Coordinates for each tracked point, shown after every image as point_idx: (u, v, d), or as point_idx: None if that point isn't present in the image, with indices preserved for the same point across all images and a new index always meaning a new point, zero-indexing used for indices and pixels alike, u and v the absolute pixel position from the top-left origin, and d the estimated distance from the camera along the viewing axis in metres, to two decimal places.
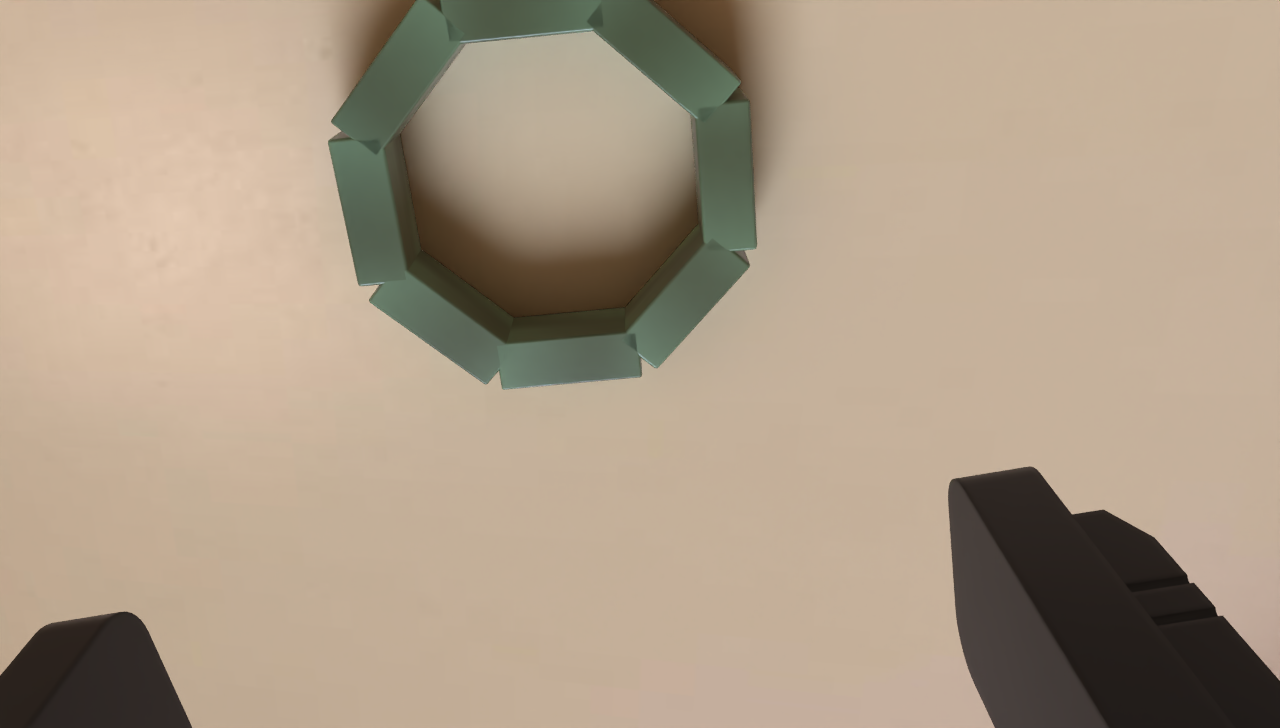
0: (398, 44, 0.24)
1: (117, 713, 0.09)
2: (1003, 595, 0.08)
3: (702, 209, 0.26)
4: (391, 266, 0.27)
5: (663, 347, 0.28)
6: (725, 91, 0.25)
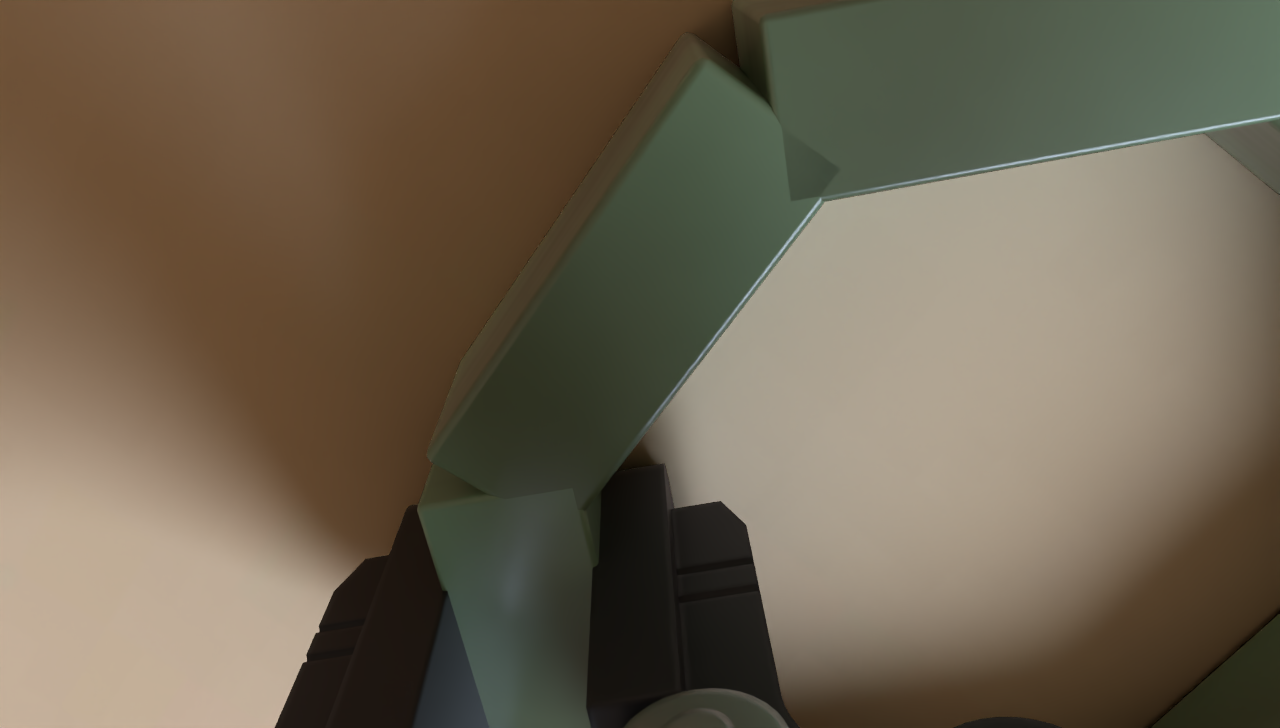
0: (480, 627, 0.09)
1: None
2: None
3: None
4: None
5: None
6: None
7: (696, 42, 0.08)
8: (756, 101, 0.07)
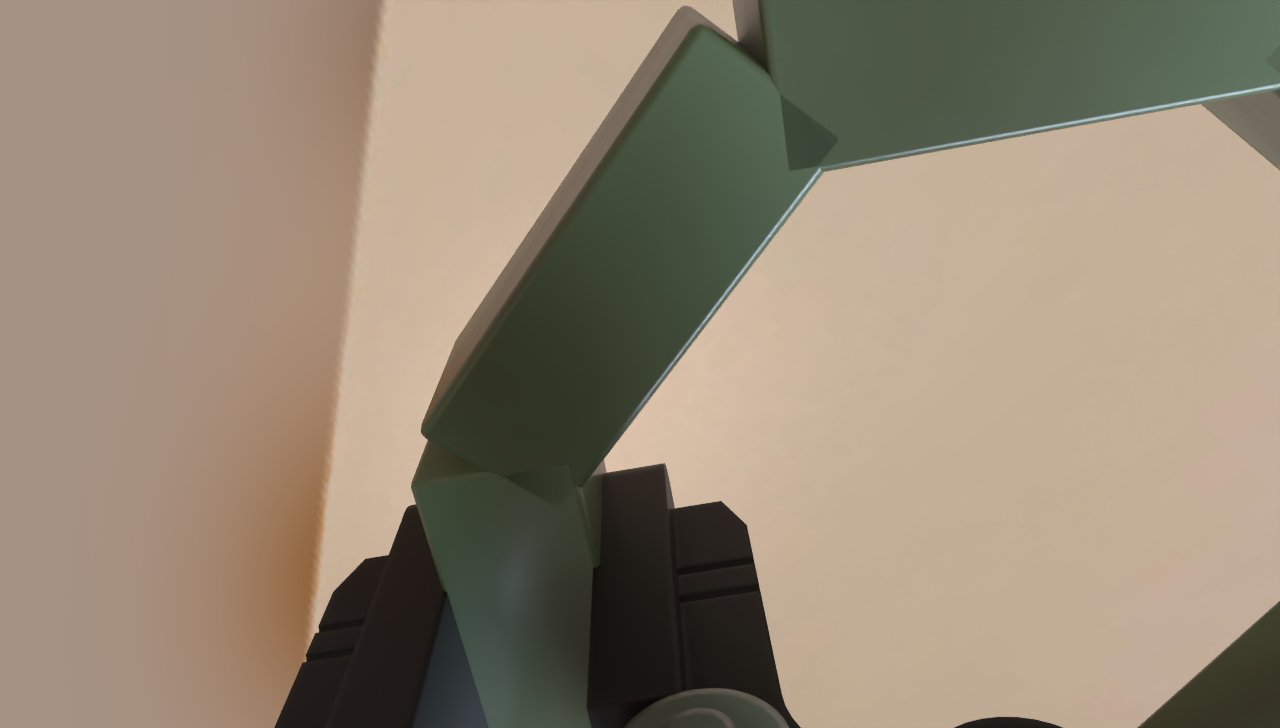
0: (475, 606, 0.09)
1: None
2: None
3: None
4: None
5: None
6: None
7: (694, 13, 0.08)
8: (754, 68, 0.07)
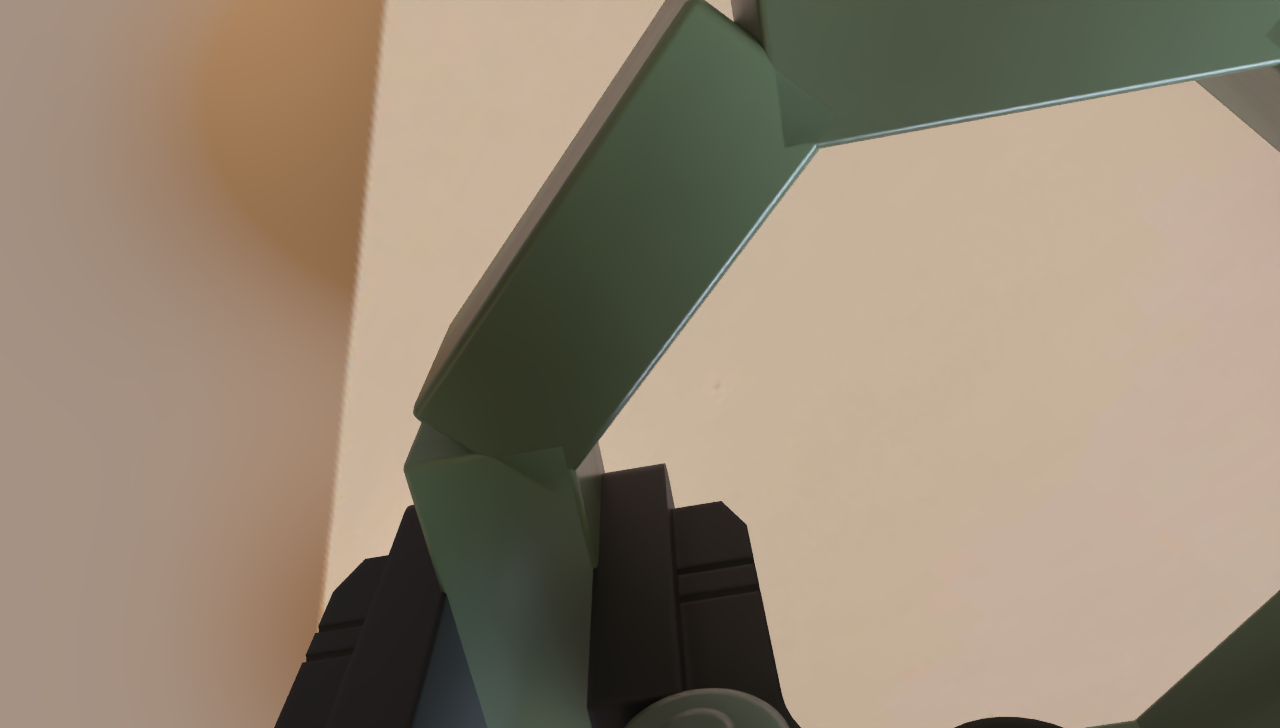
0: (468, 591, 0.09)
1: None
2: None
3: None
4: None
5: None
6: None
7: None
8: (748, 43, 0.07)
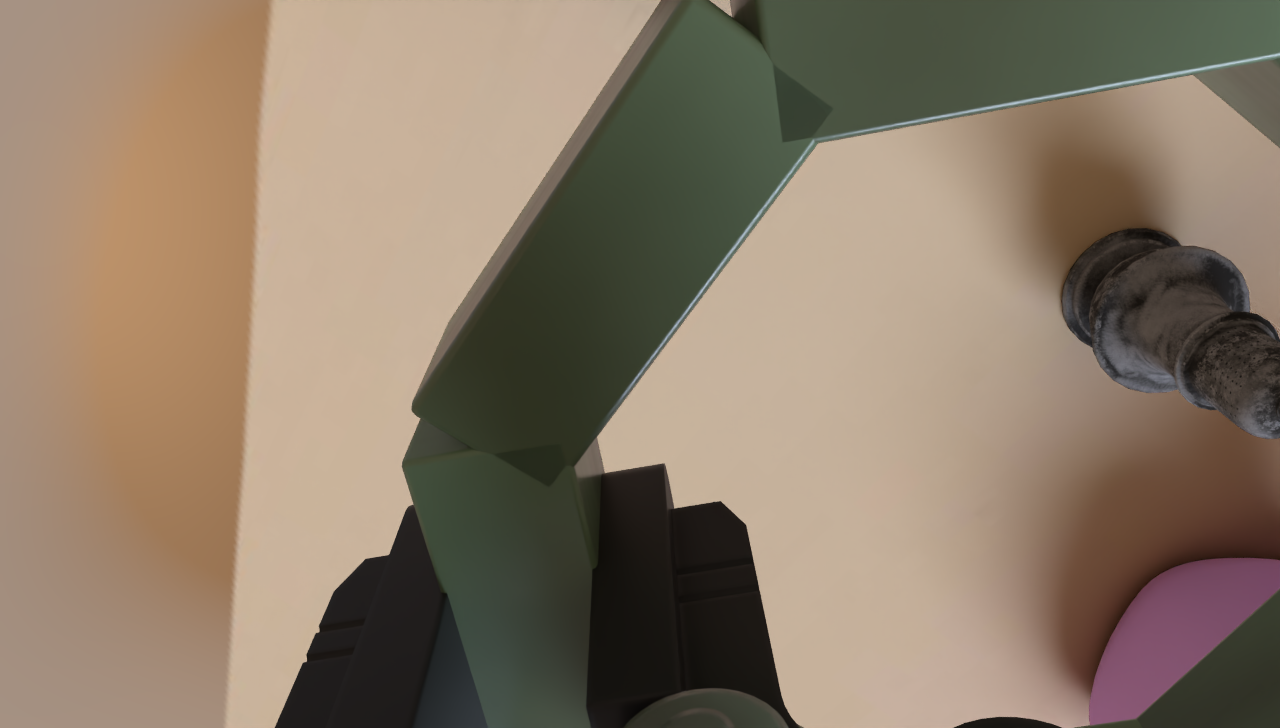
0: (467, 587, 0.09)
1: None
2: None
3: None
4: None
5: None
6: None
7: None
8: (747, 37, 0.07)
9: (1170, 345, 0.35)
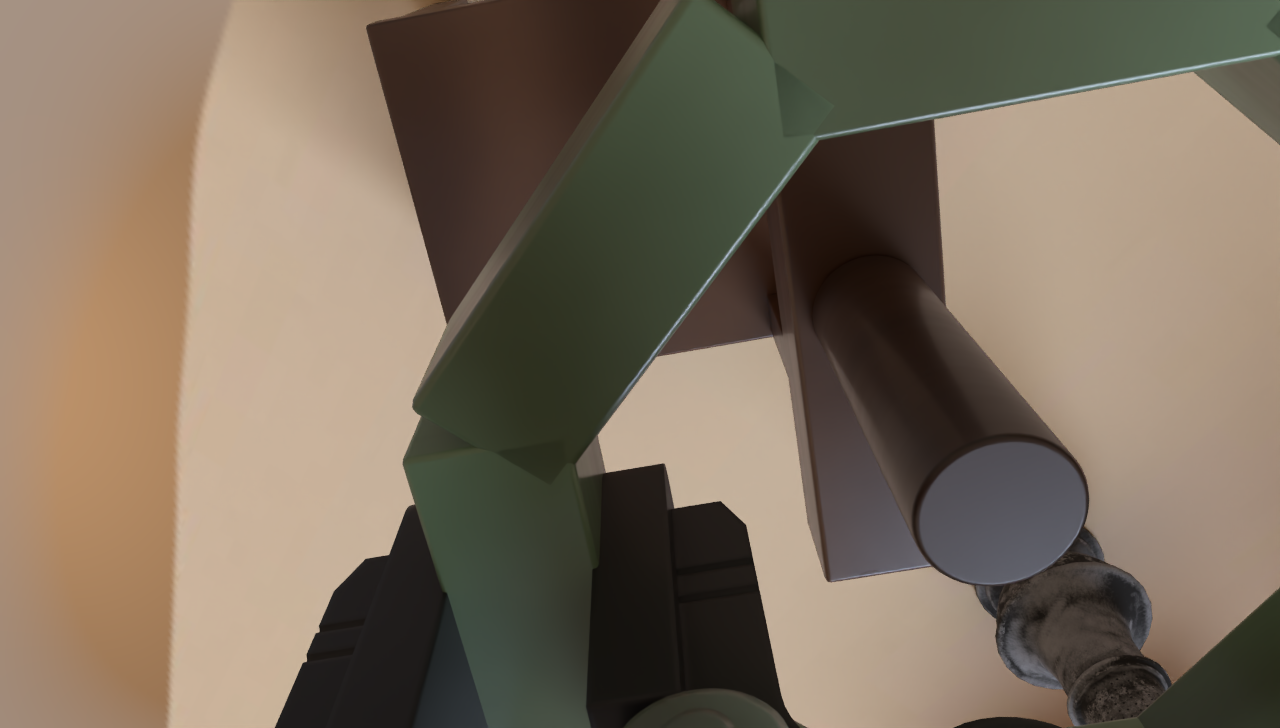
0: (468, 586, 0.09)
1: None
2: None
3: None
4: None
5: None
6: None
7: None
8: (747, 34, 0.07)
9: (1065, 672, 0.36)
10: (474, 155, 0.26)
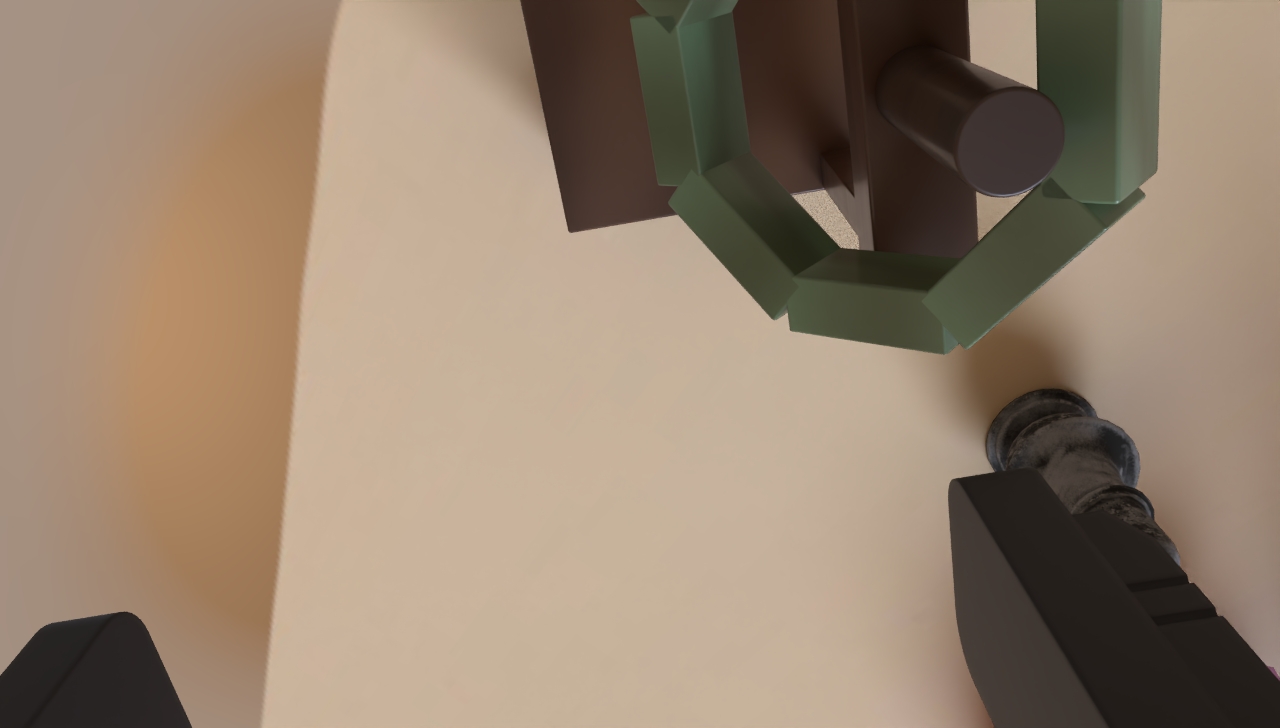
0: (646, 74, 0.23)
1: (118, 714, 0.09)
2: (1003, 595, 0.08)
3: None
4: (780, 283, 0.23)
5: (1101, 168, 0.17)
6: None
7: None
8: None
9: None
10: (586, 31, 0.32)
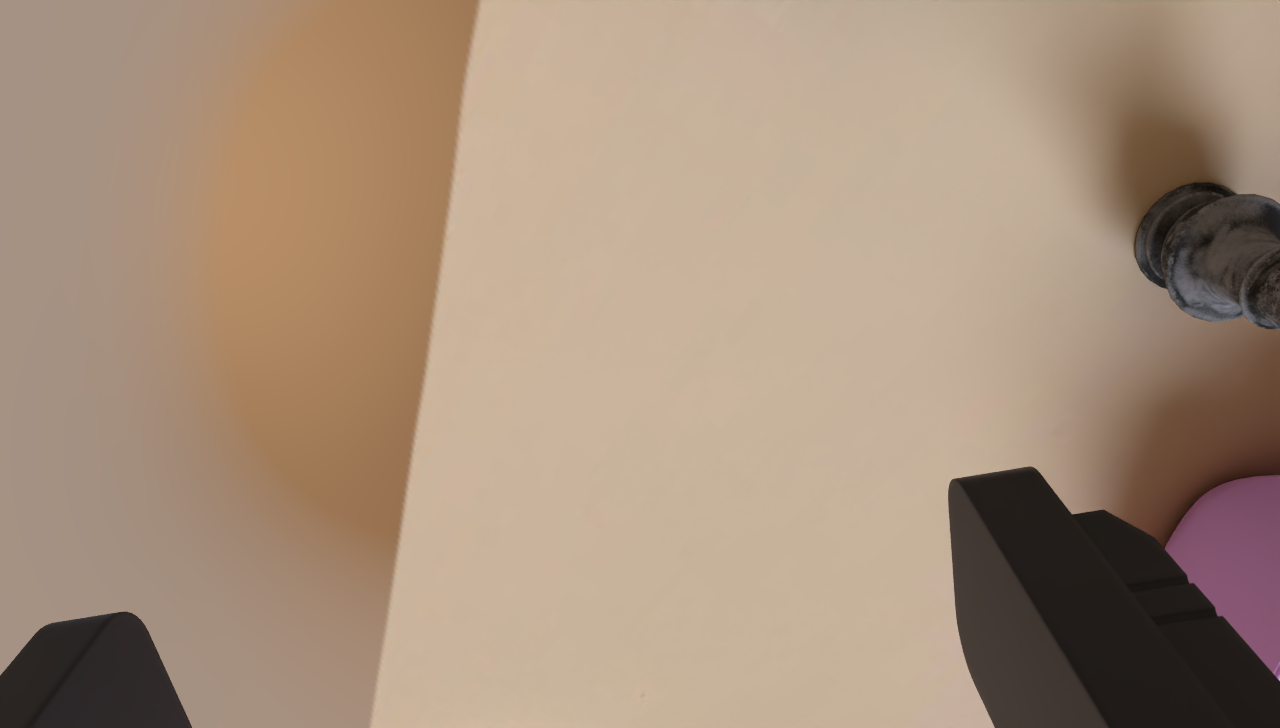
0: None
1: (117, 714, 0.09)
2: (1003, 595, 0.08)
3: None
4: None
5: None
6: None
7: None
8: None
9: (1235, 274, 0.42)
10: None
